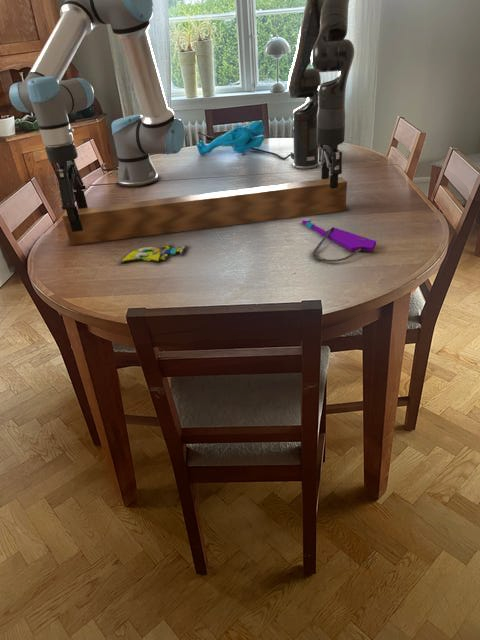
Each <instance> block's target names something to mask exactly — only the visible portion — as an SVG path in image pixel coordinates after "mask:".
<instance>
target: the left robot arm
mask: <svg viewBox="0 0 480 640" xmlns="http://www.w3.org/2000/svg"><path fill="white" fill-rule="evenodd" d="M153 7H154V2H153V0H64V2H63V4H62V6H61V7H60V10H59V16H60V17H59V19H58V20H57V22H56V24H55V26H54V28H53V30H51V31H52V32H51V33H50V34H49V37H47V38H48V39H46V42H45V44H43V45H44V46H43V47H42V49H41V51H40V52H39V54H38V56H37V57H36V60H35V61H34V63H33V65H32V66H31V68H30V70H29V72H28V74H27V75H26V77H25V78H24V80H23V81H18V82H15V83H12V84H11V85H10V87H9V91H8V97H9V100H10V102H11V105H12V106H13V107H14V108H15V109H16V110H17V111H18V112H21V113H29V114H34V115H35V118H36V122H37V125H38V130H39V133H40V136H41V140H42V143H43V145H44V146H45V148H44V150H45V153H46V156H47V159H48V161H49V162H50V163H53V164H54V163H56V165H57V167H58V168H56V169H55V174H56V179H57V182H58V188H59V193H60V199H61V204H62V206H61V209H62V211H65V210H66V211H67V215H68V218H69V222H70V225H71V228H72V232H76V231H83V228H82V224H81V221H80V217H79V213H78V210H77V209H81V208H89V207H88V202H87V199H86V194H85V190H86V189H87V187H86V185H84V182H83V179H82V177H81V174H80V171H79V169H78V167H77V164H76V161H75V160H76V159H78V157H79V154H78V150H77V147H76V143H75V142H73V141H74V136H73V133H74V132H75V130H74V128H71V125H70V120H69V116H68V115H71V114H73V113H76V112H80V111H84V110H86V109H88V108H89V107H91V106H92V105H93V103H94V101H95V92H94V88H93V86H92V84H91V83H90V82H89V81H87V80H86V79H84V78H82V77H74V78H73V77H72V78H70V79H63V77H64V75H65V73H66V72H67V70H68V67H69V66H70V64H71V62H72V60H73V59H74V56H75V54H76V53H77V50H79V46H80V45H81V43H82V41H83V40H84V38H85V37H87V36H88V35H90V34H91V33H92V31H93V29H95V28H96V27H99V26H102V25H110V29H111V30H112V34H113V35H114V36H116V37H118V38H119V39H120V42H121V46H122V49H123V52H124V56H125V58H126V62H127V65H128V68H129V71H130V74H131V78H132V81H133V84H134V88H135V91H136V94H137V98H138V100H139V103H140V107H141V110H142V113H143V114H140V113H138V114H133V115H128V116H124V117H121V118H118V119H115V120H113V121H112V122H111V132H112V133H111V135H112V138H113V142H114V146H115V151H116V156H117V160H118V167H112V168H104V167H107V163H106V162H103V163H102V164H101V166H100V167H101V168H100V169H101V170H102V171H104V172H112V171H117V183H118V186H120V187H123V188H124V187H125V188H136V187H137V188H138V187H145V186H147V185H148V186H149V185H151V184H154V183H156V182H157V181H158V180H159V176H158V172H157V169H156V168H155V166H154V163H153V161H152V159H151V156H150V155H175V154H178V153H179V152H181V150H182V148H183V146H184V144H185V143H184V142H185V137H186V131H185V124H184V122H183V120H182V119H181V118H178V117H177V118H176V116H175V112H174V110H173V109H172V108H170V107H168V103H167V100H166V99H167V98H166V96H165V92H164V88H163V85H162V81H161V77H160V73H159V69H158V67H157V63H156V59H155V55H154V51H153V48H152V45H151V40H150V36H149V33H148V30H149V29H150V26H151V22H150V20H151V19H152V17H153V15H154V8H153ZM62 79H63V80H62Z"/></svg>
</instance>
